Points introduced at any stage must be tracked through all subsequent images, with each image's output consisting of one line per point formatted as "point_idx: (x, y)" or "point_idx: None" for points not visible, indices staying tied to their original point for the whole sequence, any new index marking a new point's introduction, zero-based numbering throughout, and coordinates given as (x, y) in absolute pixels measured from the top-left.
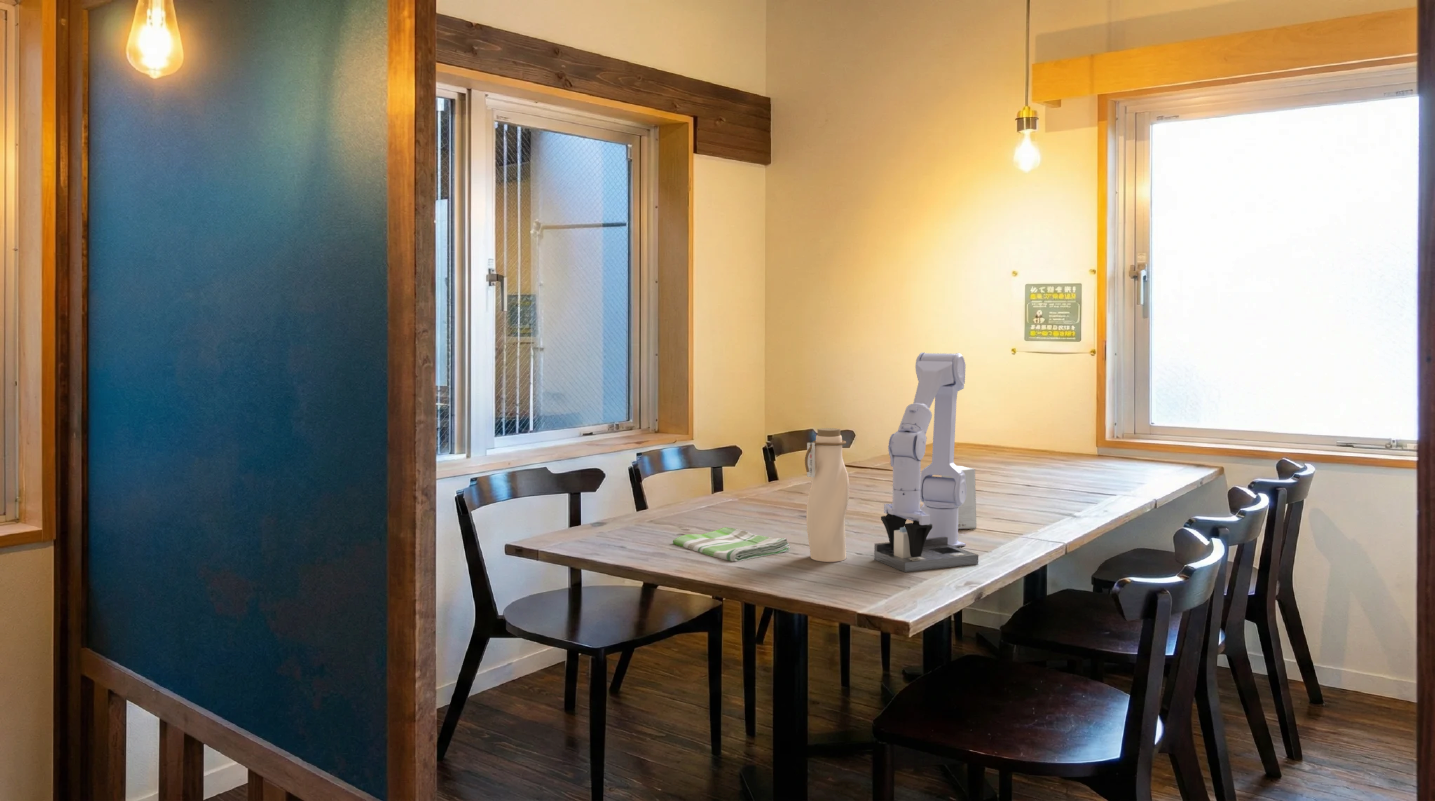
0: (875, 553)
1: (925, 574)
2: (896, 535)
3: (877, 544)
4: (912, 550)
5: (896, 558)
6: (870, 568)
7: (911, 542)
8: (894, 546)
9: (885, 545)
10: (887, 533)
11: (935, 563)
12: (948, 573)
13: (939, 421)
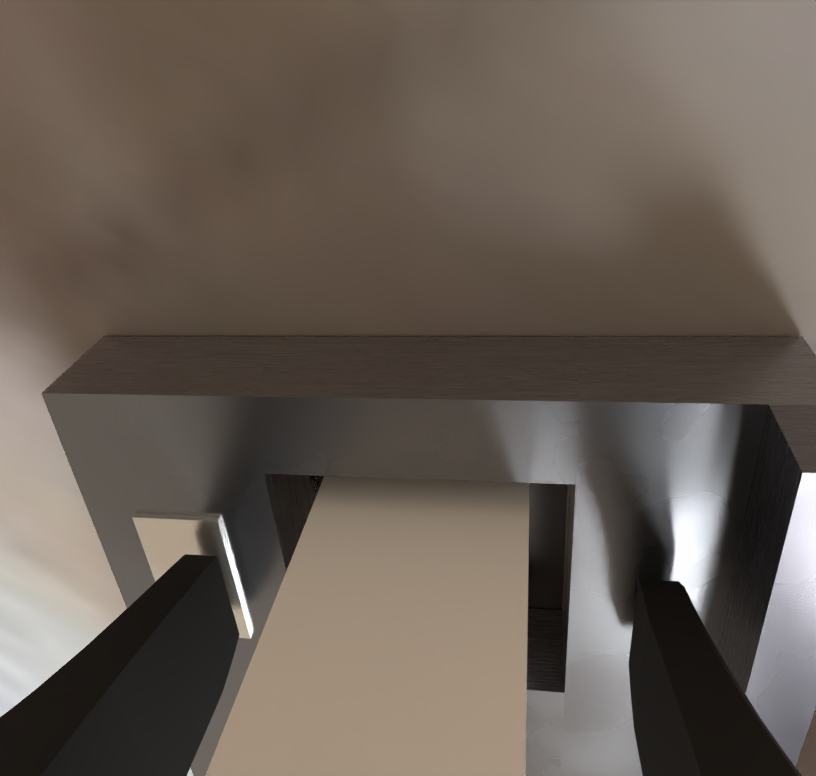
0: (800, 382)
1: (17, 456)
2: (439, 753)
3: (801, 480)
4: (127, 612)
5: (269, 415)
6: (376, 30)
7: (40, 692)
8: (513, 592)
9: (760, 574)
10: (786, 767)
11: None
12: (44, 608)
13: None
